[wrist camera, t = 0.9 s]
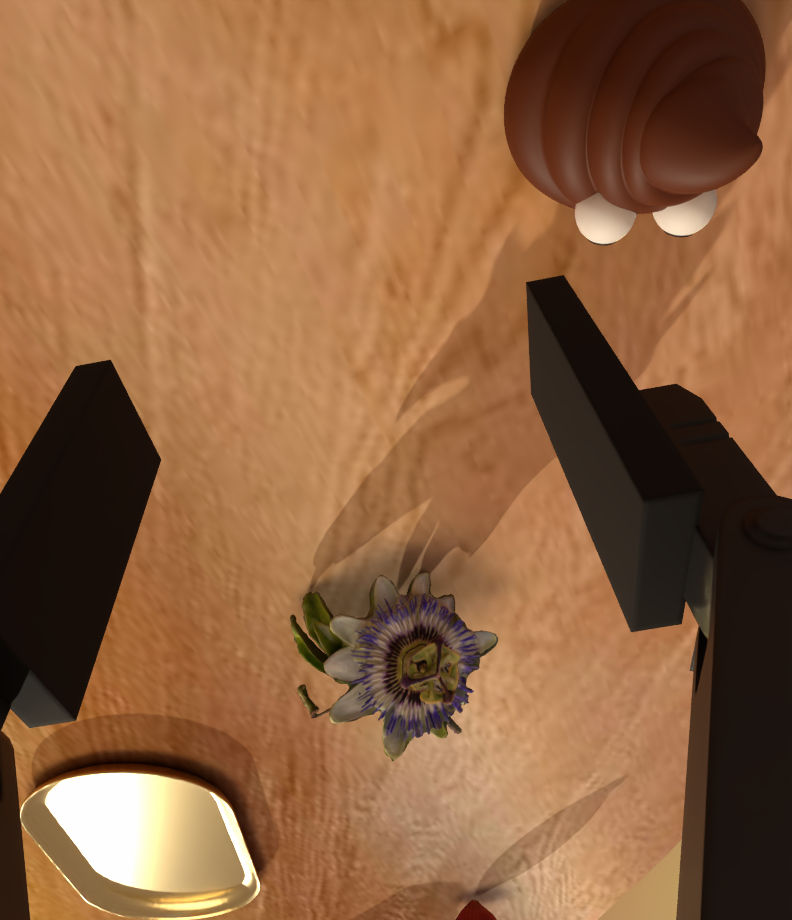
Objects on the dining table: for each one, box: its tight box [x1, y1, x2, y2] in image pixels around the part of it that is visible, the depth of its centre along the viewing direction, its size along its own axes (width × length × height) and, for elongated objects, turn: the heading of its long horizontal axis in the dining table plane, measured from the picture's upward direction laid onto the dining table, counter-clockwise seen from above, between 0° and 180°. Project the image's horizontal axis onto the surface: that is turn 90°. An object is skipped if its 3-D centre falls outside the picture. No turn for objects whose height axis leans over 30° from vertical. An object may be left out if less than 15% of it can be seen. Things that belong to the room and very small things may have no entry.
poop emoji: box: [504, 0, 765, 245], centre depth 24 cm, size 10×8×9 cm
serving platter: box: [20, 763, 261, 920], centre depth 66 cm, size 19×35×2 cm, turn 1°
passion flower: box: [290, 572, 498, 761], centre depth 44 cm, size 11×11×12 cm
